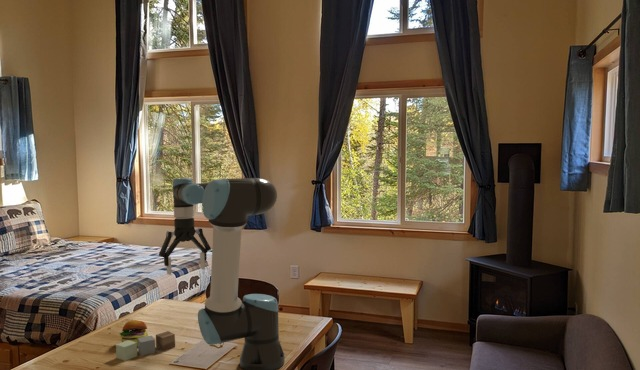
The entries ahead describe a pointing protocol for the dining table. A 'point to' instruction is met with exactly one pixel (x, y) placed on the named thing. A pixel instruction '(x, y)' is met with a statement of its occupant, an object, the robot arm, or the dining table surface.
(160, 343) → the walnut block
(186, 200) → the robot arm
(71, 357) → the dining table surface
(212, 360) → the dining table surface
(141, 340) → the slate block
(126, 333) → the cheeseburger
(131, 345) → the sage block
